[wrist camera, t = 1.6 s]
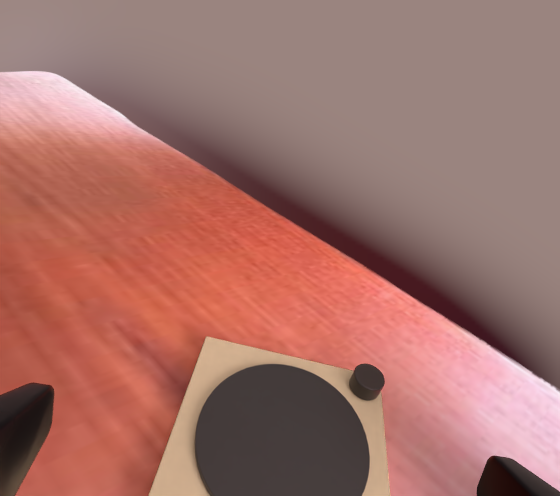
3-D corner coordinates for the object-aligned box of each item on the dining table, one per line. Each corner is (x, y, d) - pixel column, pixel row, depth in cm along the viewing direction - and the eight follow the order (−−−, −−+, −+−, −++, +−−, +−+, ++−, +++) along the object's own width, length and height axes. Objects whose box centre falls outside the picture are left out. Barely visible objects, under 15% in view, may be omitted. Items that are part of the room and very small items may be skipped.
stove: (387, 611, 19) (410, 592, 18) (132, 553, 19) (131, 528, 17) (372, 390, 29) (386, 365, 27) (203, 351, 29) (207, 323, 27)
